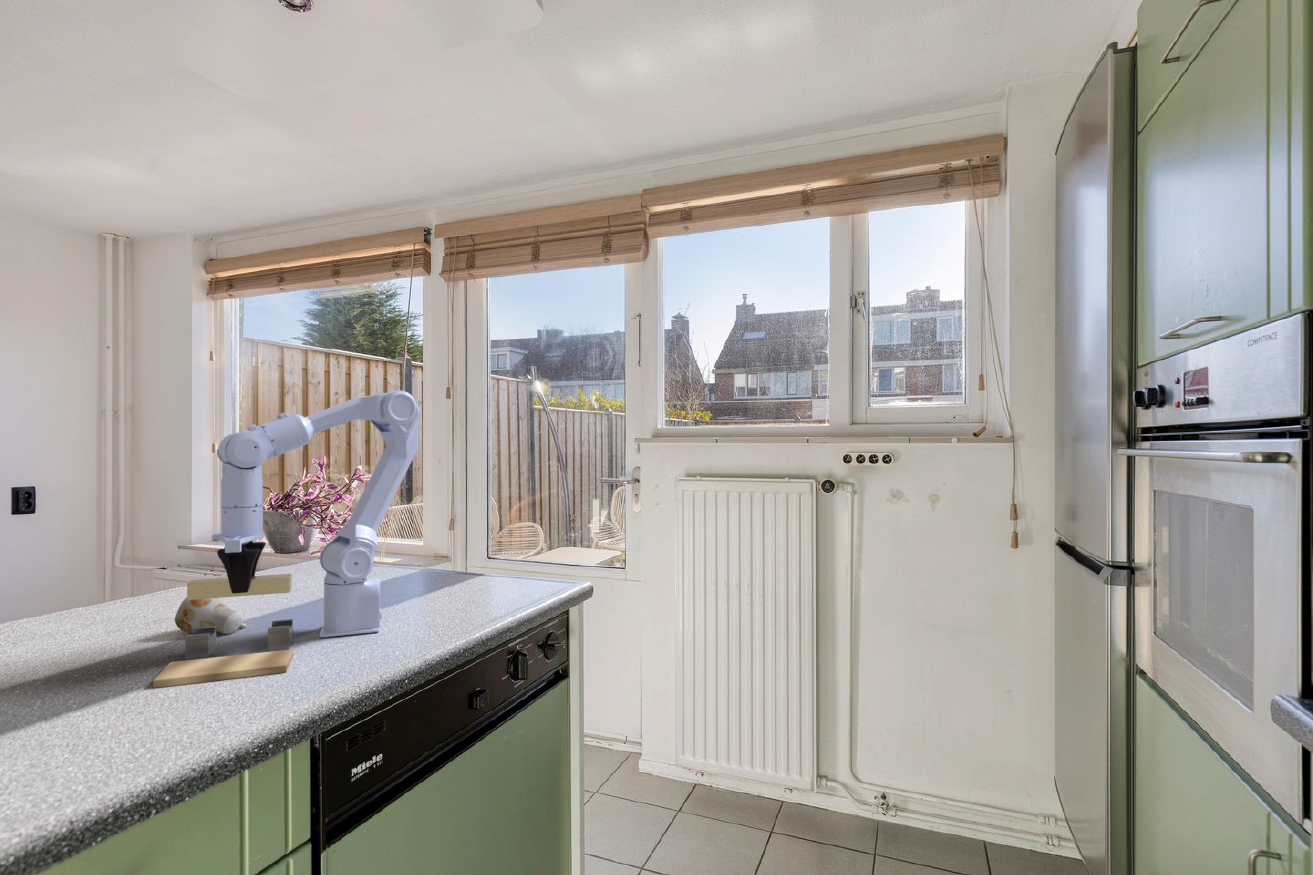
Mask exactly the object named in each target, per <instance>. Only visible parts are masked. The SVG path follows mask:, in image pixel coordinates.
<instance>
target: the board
mask: <svg viewBox="0 0 1313 875" xmlns="http://www.w3.org/2000/svg"><path fill="white" fill-rule="evenodd" d="M293 656H294V649H293V648H292V649H291V648H289V650H281V651H271V652H268V651H264V652H254V653H245V654H238V655H237V654H235V655H225V656H216V657H209V658H205V659H196V660H186V661H185V660H179V661H178V660H177V661H170V663H168V664H167V665H166V666H165V667H164V669H162V671H161V672H160V673H158V675H157V676H156V677H155V678H154V679H153V680H152V688H154V689H155V688H162V687H163V688H164V687H172V686H181V685H188V684H197V683H198V684H199V683H204V682H213V681H215V682H216V681H223V680H231V679H240V678H248V677H249V678H250V677H255V676H256V677H257V676H266V675H274V674H282V673H287V670H288V668H289V666H290V664H291V661H292V660H293Z"/></svg>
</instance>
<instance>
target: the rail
mask: <svg viewBox="0 0 1313 875" xmlns="http://www.w3.org/2000/svg"><path fill="white" fill-rule="evenodd" d="M292 577H293V574H292V573H283V574H267V575H255V576H251V581H250V586H249V589H248V592H247V593H234V594H232V591H231V588H230V585H229V580H228V577H222V578H221V577H220V578H219V577H218V578H205V579H201V578H200V579H191V580H190V581H188V582H187V584H186V589H187V590H186V598H187V600H196V599H210V598H218V599H222V598H235V597H237V598H238V597H249V596H262V595H275V594H288V593H291V591H292V589H293V588H292V587H293V586H292V585H293V583H292V581H293V578H292Z"/></svg>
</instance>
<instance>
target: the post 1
mask: <svg viewBox="0 0 1313 875" xmlns="http://www.w3.org/2000/svg"><path fill="white" fill-rule="evenodd" d="M184 642H185V643H184V645H185V646H184V647H185V648H184V650H185V651H184V661H186V660H196V659H205V658H211V655H212V654H213V653H214V652H215V651H216V650H217V632H216V626H210V627H199V628H194V629H193V633H191V634H187V635H186V636H185V641H184Z"/></svg>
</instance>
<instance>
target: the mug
mask: <svg viewBox="0 0 1313 875" xmlns="http://www.w3.org/2000/svg"><path fill="white" fill-rule="evenodd" d="M174 622H175V626H176V627H177V628H178V629H180V630H181V631H182V632H185V633H189V634H193V629H194V628H199V627H210V626H216V633H217V632H218V633H222V634H225V635H230V634H233V633H235V632H236V631H237V630H238V629H239V628H240V629H246V628H247V624H246V623H244V622H243V617H242V614H241V613H240V612H239V611H236V610H233V609H231V608H229V607H228V606H227V605H226V604H225V603H223V601H222V600H221V598H210V599H196V600H187V597H185V598H184V599H183V600H182V602H181V603H180V604H179V607H178V609H177V611H176V614H175V617H174Z"/></svg>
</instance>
